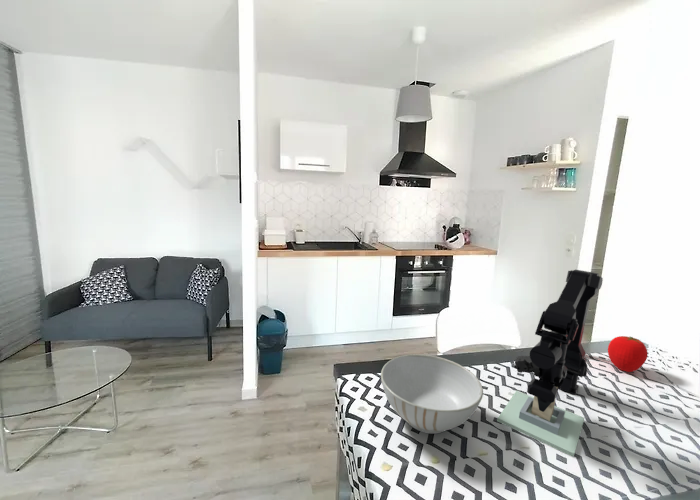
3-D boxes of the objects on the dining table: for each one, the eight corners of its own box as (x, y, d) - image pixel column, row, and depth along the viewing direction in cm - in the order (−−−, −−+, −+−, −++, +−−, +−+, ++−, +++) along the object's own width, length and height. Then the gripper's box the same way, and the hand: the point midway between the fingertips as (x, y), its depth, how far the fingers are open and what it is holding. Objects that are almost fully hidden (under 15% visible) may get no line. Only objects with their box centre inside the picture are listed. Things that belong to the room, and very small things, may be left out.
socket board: (516, 393, 107) (517, 384, 106) (583, 420, 95) (585, 411, 95) (497, 421, 93) (498, 411, 93) (573, 457, 82) (575, 446, 81)
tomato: (610, 372, 122) (617, 339, 120) (601, 359, 132) (607, 328, 129) (648, 380, 118) (656, 346, 115) (636, 366, 128) (644, 334, 125)
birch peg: (535, 405, 97) (539, 380, 95) (553, 413, 94) (557, 387, 93) (531, 413, 94) (535, 387, 92) (549, 421, 91) (554, 394, 89)
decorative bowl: (401, 465, 77) (405, 418, 75) (365, 394, 102) (368, 358, 100) (500, 445, 84) (506, 402, 82) (443, 384, 110) (447, 350, 107)
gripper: (528, 334, 103) (521, 381, 106) (510, 356, 89) (502, 408, 92) (571, 347, 95) (562, 396, 98) (558, 373, 82) (548, 429, 85)
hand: (543, 406), depth 93 cm, fingers closed on birch peg, 4 cm apart
